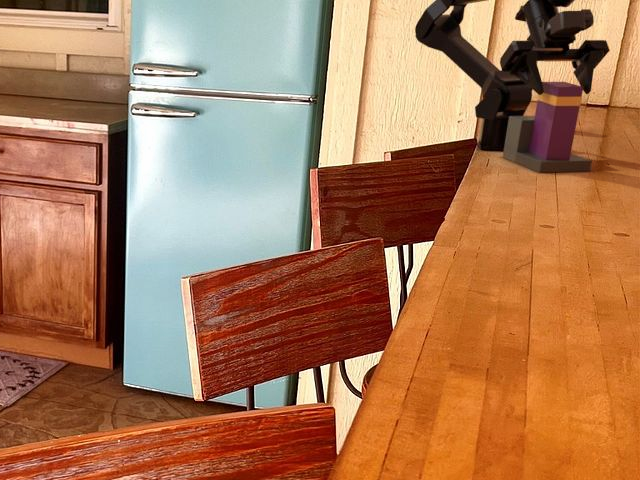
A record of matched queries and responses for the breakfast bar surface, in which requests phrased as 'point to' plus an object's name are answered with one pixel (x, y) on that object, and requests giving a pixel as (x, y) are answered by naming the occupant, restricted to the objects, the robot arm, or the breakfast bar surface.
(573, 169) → the grey l-shaped stand
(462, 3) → the robot arm
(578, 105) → the chocolate box
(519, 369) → the breakfast bar surface
